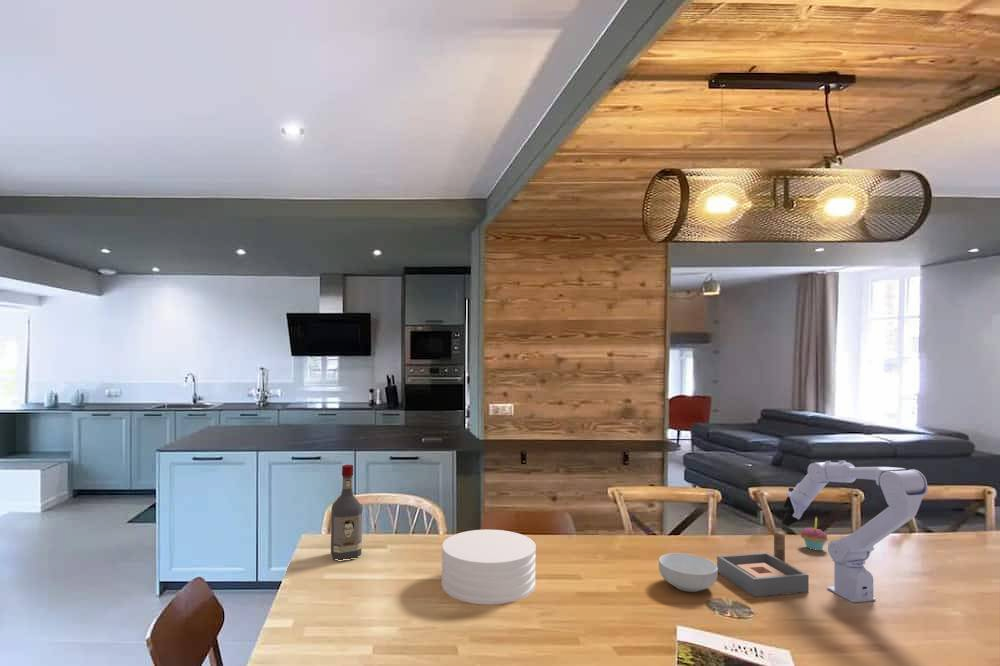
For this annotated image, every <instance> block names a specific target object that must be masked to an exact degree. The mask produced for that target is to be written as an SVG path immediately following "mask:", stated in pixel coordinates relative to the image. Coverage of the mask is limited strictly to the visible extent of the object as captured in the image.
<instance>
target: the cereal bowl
mask: <svg viewBox="0 0 1000 666" xmlns="http://www.w3.org/2000/svg"><path fill="white" fill-rule="evenodd" d="M658 558H659V559H658V570H659V572H660V575H661V577H662V578H663V579H664V580H665V581H666V582H667V583H668V584H669V585H670V584H671V586H674V587H675V589H678V590H680V591H683V592H687V593H688V592H689V593H696V592H699V591H703V590H706V589H709V588H711V587H712V586H714V584H715V583H716V582H717V579H718V574H719V573H718V568H717V563H715V562H714V561H712V560H711V559H708V558H706V557H703V556H700V555H696V554H689V553H683V552H680V553H679V552H673V553H665V554H663V555H661V556H660V557H658Z"/></svg>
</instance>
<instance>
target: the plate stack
mask: <svg viewBox="0 0 1000 666" xmlns="http://www.w3.org/2000/svg"><path fill="white" fill-rule="evenodd" d="M536 549H537V545H536V543H535V542H534V540H532V539H531V538H530V537H528V536H527V535H524V534H521V533H519V532H514V531H510V530H509V531H508V530H503V529H474V530H467V531H462V532H458V533H455V534H452V535H451V536H449V537H447V538H446V539H444V540H443V542H442V544H441V588H442V590H443V592H445V594H446V595H448V596H450V597H451V598H453V599H457V600H459V601H461V602H465V603H471V604H477V605H501V604H509V603H513V602H517V601H519V600H522V599H524V598H526V597H527V596H529V595H531V594H532V593H533V591H534V590H535V589H536V567H537V565H536V561H537V560H536V559H537V558H536V557H537V555H536V552H537V550H536ZM531 592H532V593H531Z"/></svg>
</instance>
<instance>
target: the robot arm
mask: <svg viewBox="0 0 1000 666" xmlns="http://www.w3.org/2000/svg"><path fill="white" fill-rule="evenodd" d="M857 479H860V480H871V481H875V483H876V485H877V486H880V489H881V491H882V494H883V496H884V500H885V502H886V503H887V505H888V506H887V507H886V508H884V510H882V511H881V512H879V513H878V514H877V515H876V516H874V517H873V518H872V519H870V520H869V521H868V522H867V521H866V523H865V524H863V525H862V526H861V527H859V528H858V529H857V530H855V531H853V533H851V534H848V535H846V536H843V537H841V538H839V539H833V540H830V541H829V543H828V546H827V552H828V554H829V557H830V558H831V559H832V562H833V564H834V565H833V566H834V570H833V571H834V572H833V573H834V577H833V578H834V580H833V581H834V585H831V586H827V588H826V589H828V590H829V591H832V592H833V593H835V594H836V595H838V596H839V597H840V596H841V597H842V598H844V599H846V600H847V601H849V602H851V603H860V602H861V603H862V602H872V601H876V600H877V599H876V598H875V597H874V577H873V575H872V573H871V572H870V571H868V570H867V569H866V568H865V566H864V565H865V564H866V560H868V559H869V557H870V555H871V553H872V552H873V551H874V550H875V548H874V546H875V545H877V544H878V543H879V542H881V541H882V540H883V539H885V538H886V537H888V536H889V535H891V534H892V533H893V532H895V531H897V530H898V529H900V527H902V526H904V525H905V524H907V523H908V522H910V520H912V519H914V518H915V517H916V516H917V513H918V511H919V509H920V506H921V504H922V501H923V498H924V497H925V496H926V495H927V494H928V493H929V487H928V482H927V478H926V476H925V475H924V474H923V473H922V472H921V471H919V470H918V469H914V468H913V469H911V468H910V469H907V468H904V467H892V466H857V467H856V466H855V465H854V464H853V463H851V462H847V461H846V460H838V462H834V461H833V462H832V461H831V460H825V461H824V462H823V461H822V462H814V463H813V462H812V463H810V464H809V465H808V467H807V474H806V475H805V476H804V477H803V479H801V481H800V482H798V483H797V484H796V485H795V487H788V490H787V492H786V500H785V502H784V504H783V508H785V510H786V511H785V514H784V516H783V517H782V520H781V524H782V525H785V526H786V527H788V526H791V525H793V524H795V523H797V522H798V523H799V522H803V521H804V520H805V515H804V512H805V511H806V510H807V509H808V508H809V506H810V504H811V503H812V502H813V501H814V499H816V498H817V496H818V495H819V494H820V492H821V491H822V490H823V489H824V488H825V487H826V485H828V483H830V482H831V483H850V484H852V483H854V482H855V481H856V480H857Z"/></svg>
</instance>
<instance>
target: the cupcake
mask: <svg viewBox="0 0 1000 666" xmlns="http://www.w3.org/2000/svg"><path fill="white" fill-rule="evenodd" d="M799 533H800V534H799V535H800V538H802V539H803V540H804V542H805V545H806V546H807V547H808V548H811V549H816V550H820V551H822V550H823V548H824V545H825V543H826V542H827V541H828V534H827V533H826V532H825V531H823V530H822V529H819V528H818V516H815V518H814V527H806V528H803V529H802V530H800V532H799ZM807 547H806V548H807ZM808 548H807V549H808ZM811 549H810V550H811ZM821 549H822V550H821Z"/></svg>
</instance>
